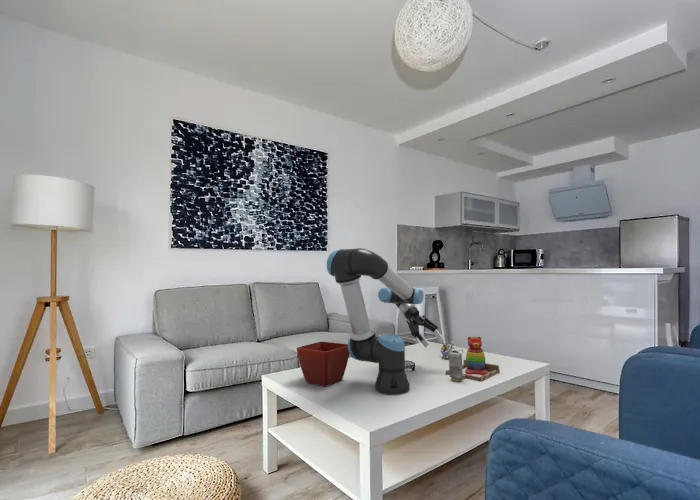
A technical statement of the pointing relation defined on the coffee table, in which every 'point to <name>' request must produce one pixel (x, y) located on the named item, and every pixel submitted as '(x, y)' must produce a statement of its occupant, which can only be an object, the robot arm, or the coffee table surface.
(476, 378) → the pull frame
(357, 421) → the coffee table surface
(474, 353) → the stacking bear
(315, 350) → the plant pot
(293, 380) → the coffee table surface
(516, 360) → the coffee table surface
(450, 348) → the passion flower
